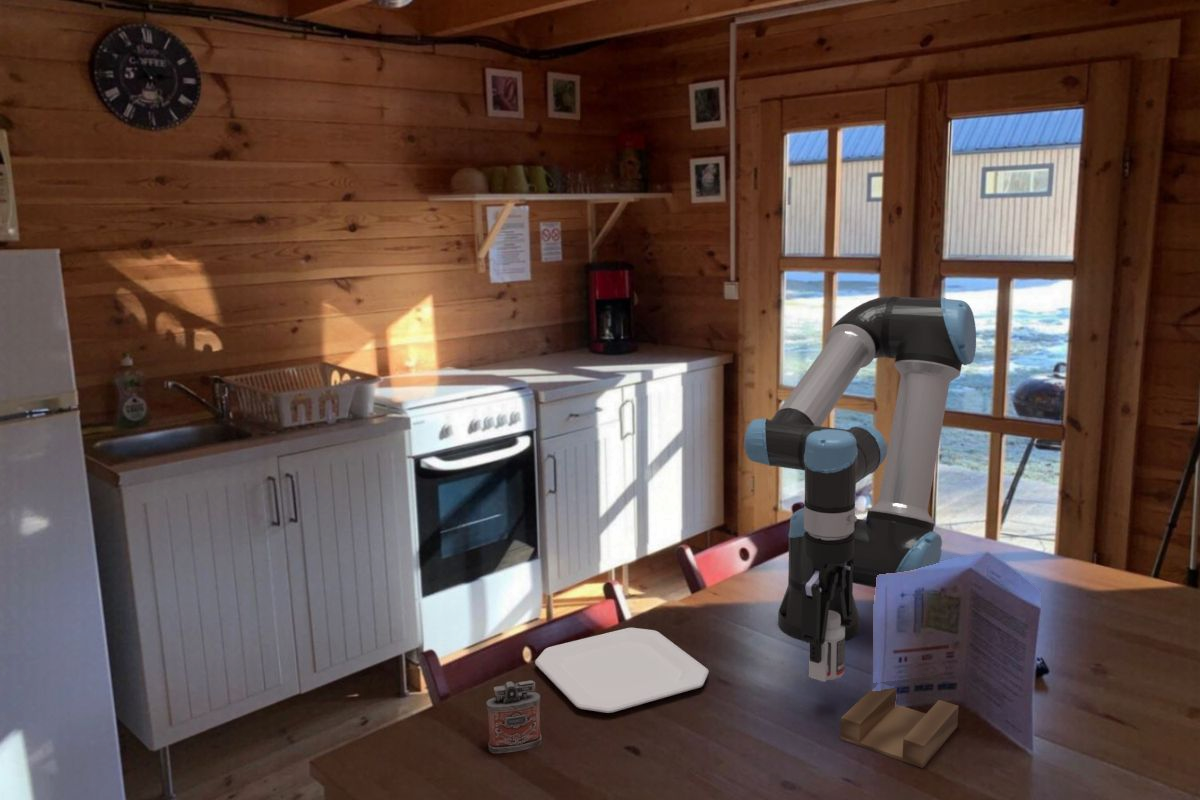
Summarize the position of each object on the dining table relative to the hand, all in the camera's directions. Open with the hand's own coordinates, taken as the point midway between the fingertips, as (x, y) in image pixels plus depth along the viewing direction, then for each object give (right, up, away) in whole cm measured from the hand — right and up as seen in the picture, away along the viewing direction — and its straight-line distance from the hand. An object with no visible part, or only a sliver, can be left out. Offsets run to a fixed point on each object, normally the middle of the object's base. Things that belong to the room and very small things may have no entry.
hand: (826, 670), depth 152 cm
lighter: (-48, -9, -7) cm, 50 cm away
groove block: (+10, -8, -6) cm, 14 cm away
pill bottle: (0, -1, 0) cm, 1 cm away
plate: (-32, -5, +14) cm, 35 cm away
